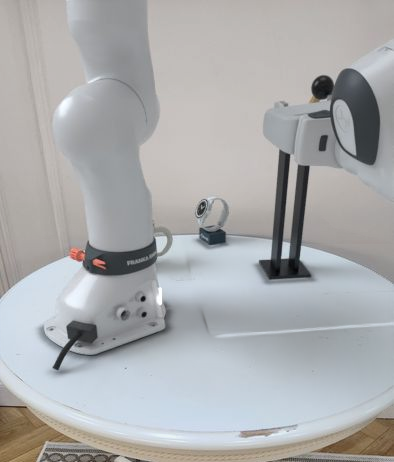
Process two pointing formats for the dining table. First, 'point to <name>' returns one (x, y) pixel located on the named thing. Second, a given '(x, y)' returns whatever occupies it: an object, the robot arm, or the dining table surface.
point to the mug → (168, 235)
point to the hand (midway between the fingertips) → (304, 102)
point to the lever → (321, 88)
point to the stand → (292, 265)
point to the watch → (213, 232)
